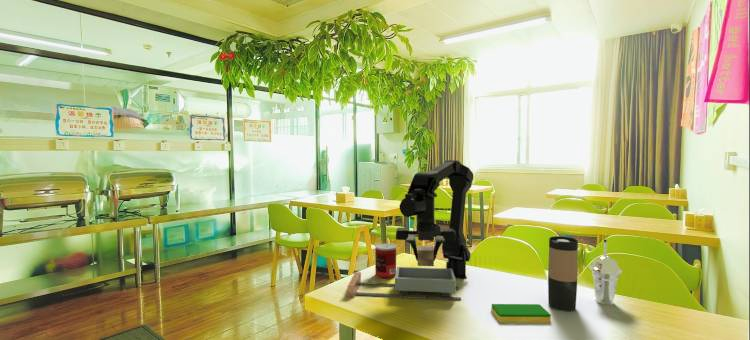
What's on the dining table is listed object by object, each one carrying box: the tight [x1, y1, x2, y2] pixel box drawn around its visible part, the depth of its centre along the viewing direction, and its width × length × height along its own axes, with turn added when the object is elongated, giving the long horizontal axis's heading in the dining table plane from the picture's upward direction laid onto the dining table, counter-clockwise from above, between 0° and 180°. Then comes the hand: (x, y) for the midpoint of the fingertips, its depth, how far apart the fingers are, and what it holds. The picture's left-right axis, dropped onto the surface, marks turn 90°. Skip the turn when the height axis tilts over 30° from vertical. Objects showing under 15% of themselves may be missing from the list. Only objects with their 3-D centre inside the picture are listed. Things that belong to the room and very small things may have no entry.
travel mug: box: [547, 235, 579, 312], centre depth 106 cm, size 8×8×20 cm
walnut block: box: [417, 245, 435, 267], centre depth 116 cm, size 5×5×5 cm
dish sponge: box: [490, 303, 552, 323], centre depth 100 cm, size 7×14×2 cm, turn 89°
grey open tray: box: [394, 266, 457, 297], centre depth 117 cm, size 19×12×6 cm, turn 83°
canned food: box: [374, 243, 397, 280], centre depth 133 cm, size 8×8×11 cm
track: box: [347, 271, 462, 301], centre depth 118 cm, size 35×13×4 cm, turn 83°
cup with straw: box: [588, 239, 623, 306], centre depth 109 cm, size 8×9×20 cm
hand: (425, 260), depth 116 cm, fingers closed on walnut block, 5 cm apart
